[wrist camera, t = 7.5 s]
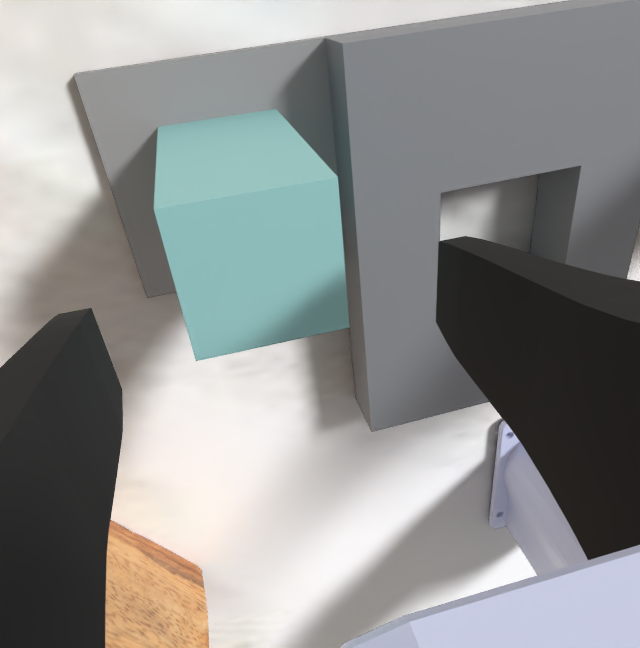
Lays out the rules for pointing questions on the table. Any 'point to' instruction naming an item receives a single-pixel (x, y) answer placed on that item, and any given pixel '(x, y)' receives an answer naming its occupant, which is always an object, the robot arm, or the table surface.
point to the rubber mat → (194, 105)
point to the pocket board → (475, 169)
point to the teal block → (250, 232)
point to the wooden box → (152, 596)
